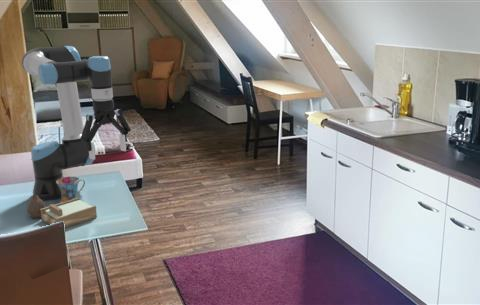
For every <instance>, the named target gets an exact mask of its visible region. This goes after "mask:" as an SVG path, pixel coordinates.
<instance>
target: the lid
mask: <svg viewBox="0 0 480 305" xmlns="http://www.w3.org/2000/svg"><path fill="white" fill-rule="evenodd" d="M92 206H93V205H91V204H90V203H87V202H85V201H83V200H82V199H81V200H77V201H74V202H71V203H67V204H64V205H61V206H55V204H54V203H51V204H48V207H49V209H48V210H45V213H46V214H48V215H49V216H51V217H53V218H54V219H56V218H58V217H61V216H64V215H67V214H71V213H74V212H77V211H80V210H83V209H86V208H89V207H92Z"/></svg>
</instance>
